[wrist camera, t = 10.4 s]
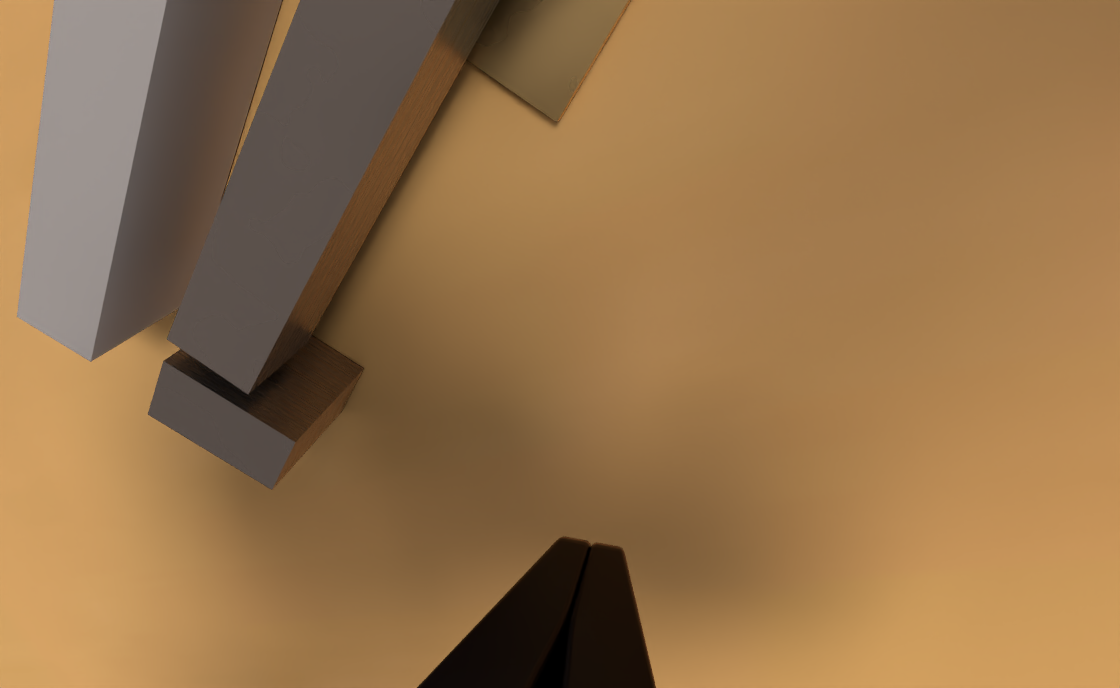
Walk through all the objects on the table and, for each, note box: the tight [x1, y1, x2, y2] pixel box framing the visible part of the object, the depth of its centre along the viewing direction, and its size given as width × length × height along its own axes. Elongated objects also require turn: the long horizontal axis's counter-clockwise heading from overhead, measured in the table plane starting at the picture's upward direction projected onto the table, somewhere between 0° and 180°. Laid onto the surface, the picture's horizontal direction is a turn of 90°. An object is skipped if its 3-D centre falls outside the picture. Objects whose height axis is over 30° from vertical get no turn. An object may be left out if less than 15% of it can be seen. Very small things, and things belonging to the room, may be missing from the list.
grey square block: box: [148, 335, 364, 489], centre depth 18 cm, size 2×4×4 cm, turn 59°
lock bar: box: [167, 0, 499, 394], centre depth 13 cm, size 14×4×3 cm, turn 145°
